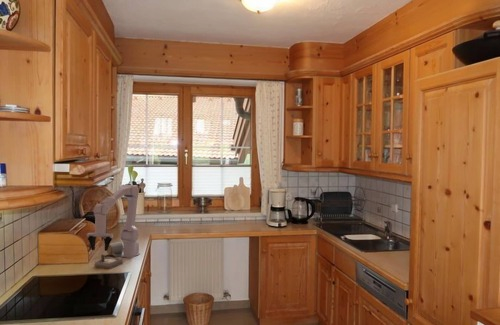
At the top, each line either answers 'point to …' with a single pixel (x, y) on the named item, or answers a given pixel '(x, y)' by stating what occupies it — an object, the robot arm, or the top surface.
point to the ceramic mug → (115, 249)
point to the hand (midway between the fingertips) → (99, 250)
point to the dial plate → (108, 265)
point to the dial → (106, 259)
